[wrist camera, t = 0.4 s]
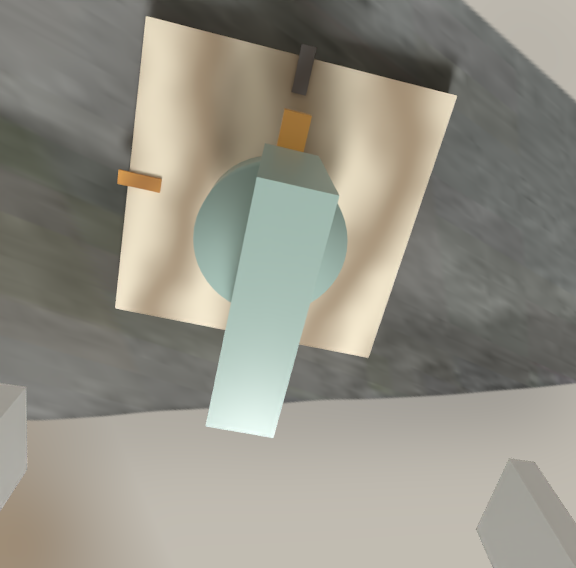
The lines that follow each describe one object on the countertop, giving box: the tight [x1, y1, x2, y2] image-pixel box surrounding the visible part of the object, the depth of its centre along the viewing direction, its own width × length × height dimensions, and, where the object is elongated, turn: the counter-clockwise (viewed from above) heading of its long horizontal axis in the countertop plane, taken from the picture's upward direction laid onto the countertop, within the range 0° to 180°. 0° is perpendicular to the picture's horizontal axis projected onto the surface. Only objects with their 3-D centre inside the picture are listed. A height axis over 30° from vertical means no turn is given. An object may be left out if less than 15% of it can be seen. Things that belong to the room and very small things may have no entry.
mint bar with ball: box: [193, 108, 348, 438], centre depth 25 cm, size 9×13×14 cm
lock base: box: [115, 16, 457, 358], centre depth 35 cm, size 22×22×6 cm
